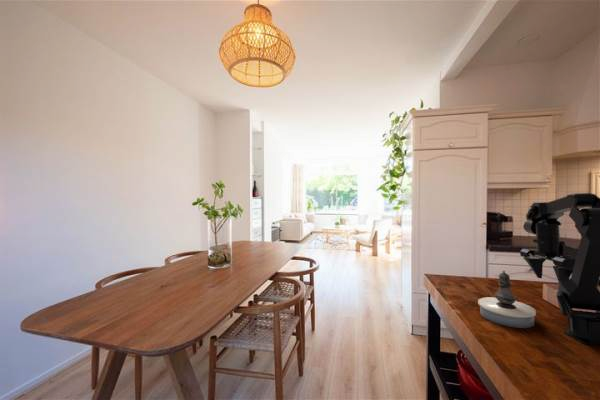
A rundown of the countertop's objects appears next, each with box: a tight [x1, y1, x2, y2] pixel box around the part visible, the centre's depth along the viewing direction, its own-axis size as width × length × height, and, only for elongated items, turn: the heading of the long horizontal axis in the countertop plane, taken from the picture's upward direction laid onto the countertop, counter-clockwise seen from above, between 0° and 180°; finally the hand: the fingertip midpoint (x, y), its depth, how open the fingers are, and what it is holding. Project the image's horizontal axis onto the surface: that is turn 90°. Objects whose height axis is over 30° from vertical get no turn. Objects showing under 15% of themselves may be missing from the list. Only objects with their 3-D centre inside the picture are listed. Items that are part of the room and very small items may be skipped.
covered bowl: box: [477, 296, 537, 329], centre depth 82 cm, size 15×15×4 cm
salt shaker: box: [494, 270, 518, 309], centre depth 82 cm, size 6×6×12 cm
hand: (550, 282), depth 83 cm, fingers open, 9 cm apart
